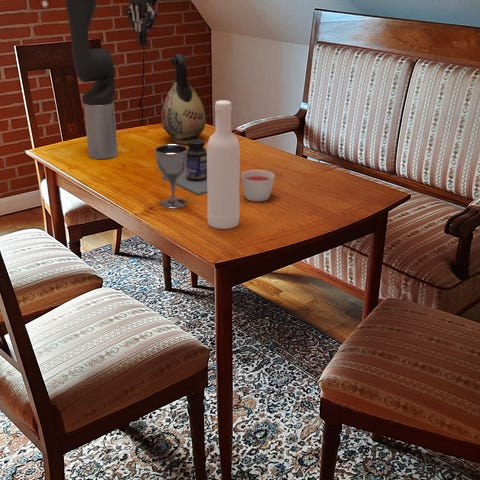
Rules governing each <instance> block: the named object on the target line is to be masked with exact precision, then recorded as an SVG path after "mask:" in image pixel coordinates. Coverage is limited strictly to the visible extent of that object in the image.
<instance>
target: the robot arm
mask: <svg viewBox="0 0 480 480" xmlns="http://www.w3.org/2000/svg"><path fill="white" fill-rule="evenodd" d="M97 1H98V0H64V4H65V7H66V14H67V19H68V25H69V31H70V38H71V39H70V41H71V51H72V61H73V67H74V71H75V74H76V76H77V78H78V80H79V81H81V82H83V83H90V82H94V84H92V86H91V87H90V88H89V89H88V90H86V91H85V92H84V93H83V95H82V99H83V109H84V119H85V132H86V133H85V135H86V143H87V144H86V145H87V152H88V157H89V158H91V159H95V160H106V159H107V160H108V159H112V158H115V157H117V156H118V155H119V153H118V152H119V151H118V139H117V126H116V116H115V104H114V103H115V102H114V97H115V96H114V95H115V93H116V90H115V89H116V87H115V84H116V83H115V81H116V80H115V64H114V58H113V55H112V53H111V52H110V51H109V50H108V49H107V48H102V47H101V48H92V49H91V48H90V43H89V31H90V27H91V23H92V21H93V17H94V15H95V13H96V8H97V3H98V2H97ZM128 4H129V7H125V9H124V10H125V11H124V12H125V14H126V16H127V19H128V21H129V23H130V26H131V28H132V29H135V31H136V36H137V37H136V38H137V45H138V47H147V46H148V32H149V31H150V30H152V29H153V26H154V23H155V20H156V19H157V16H158V12H157V10H153V8H152V5H153V4H152V2H151V0H129V3H128Z"/></svg>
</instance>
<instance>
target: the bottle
mask: <svg viewBox="0 0 480 480" xmlns="http://www.w3.org/2000/svg"><path fill="white" fill-rule="evenodd" d="M214 105H215V106H214V110H215V113H214V114H215V117H214V118H215V119H214V120H215V122H214V123H215V128H214V129H215V131H214V132H213V133H212V134H211V135H210V136H209V139H208V141H207V144H206V151H207V193H206V194H207V195H206V196H207V197H206V198H207V202H206V203H207V213H206V215H207V216H206V218H207V224H208V225H209V227H212V228H214V229H219V230H229V229H233V228H235V227H238V225H239V224H240V216H241V215H240V214H241V213H240V179H241V178H240V177H241V174H240V171H241V170H240V169H241V168H240V163H241V162H240V161H241V156H240V155H241V154H240V153H241V150H240V149H241V146H240V143H239V142H240V141H239V139H238V137H237V136H236V135H235V134H234V132H232V110H233V106H232V102H231V101H230V100H225V99H223V100H222V99H220V100H217V101H215V104H214Z"/></svg>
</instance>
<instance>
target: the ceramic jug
mask: <svg viewBox="0 0 480 480" xmlns="http://www.w3.org/2000/svg"><path fill="white" fill-rule="evenodd" d="M170 63H171V65H172V66H173V67H175V80H174V82H173V84H172V86H171V88H170V89H169V91H168V93H167V95H166V97H165V98H164V101H163V103H162V108H161V114H160V115H161V116H160V117H161V119H160V120H161V125H162V127H163V130H164V132H165V133H167V134H168V136H169V137H170V138H171V139H172V142H173V143H176V144H179V145H188V141H189V140H193V139H200V135H201V134H202V133H203V131H204V130H205V127H206V123H207V116H206V115H207V114H206V109H205V106H204V104H203V102H202V100H201V98H200V97H199V95H198V94H197V92H196V91H195V90H194V88H193V87H192V85H191V84H190V83H189V82H188V72H187V71H188V70H187V62H186V58H185V56H184V55H183V54H181V53H178V54H176V55H175V57H174V56H171V59H170Z"/></svg>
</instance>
